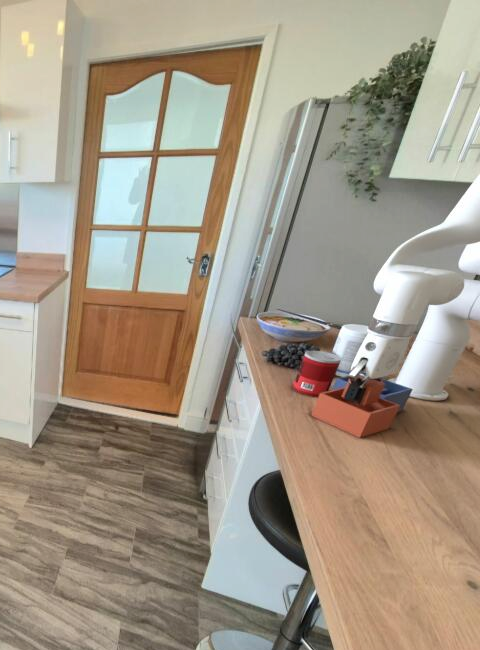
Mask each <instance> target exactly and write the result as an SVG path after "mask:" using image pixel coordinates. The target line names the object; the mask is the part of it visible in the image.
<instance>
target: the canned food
mask: <svg viewBox="0 0 480 650" xmlns="http://www.w3.org/2000/svg"><path fill="white" fill-rule="evenodd" d="M340 361H341V358H340V357H338V356H337V355H334V354H332V352H327V351H322V350H320V351H307V352H306V353H305V355H304V357H303V360H302V363H301V365H300V368H299V370H297V374H296V376H295V379H294V382H293V389H294V390H295V392H296V391H297V392H298V393H300V394H301V395H302V394H303V395H306V396H310V397H317V398H318V397H319V394H320V393H323V392H327V391H330V388H331V385H332V384H333V381H334V378H335V376H336V375H335V374H336V371H337V369H338V366H339V364H340Z"/></svg>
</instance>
